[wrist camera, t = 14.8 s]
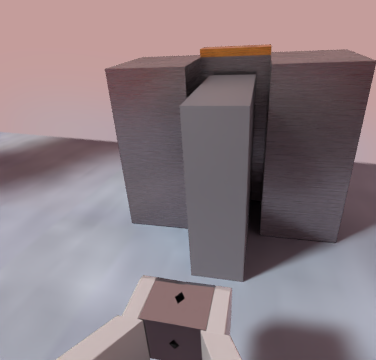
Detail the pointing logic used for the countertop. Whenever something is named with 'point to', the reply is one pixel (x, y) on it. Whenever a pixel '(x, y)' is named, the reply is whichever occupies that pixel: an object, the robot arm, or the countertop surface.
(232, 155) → the grey block
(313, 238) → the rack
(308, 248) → the countertop surface
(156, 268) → the countertop surface
